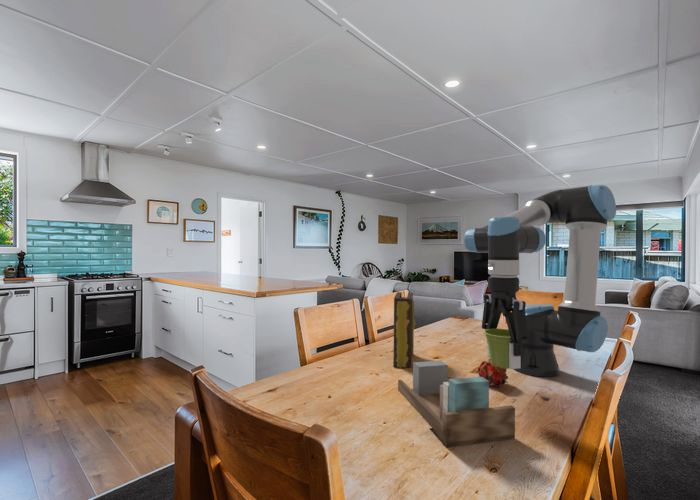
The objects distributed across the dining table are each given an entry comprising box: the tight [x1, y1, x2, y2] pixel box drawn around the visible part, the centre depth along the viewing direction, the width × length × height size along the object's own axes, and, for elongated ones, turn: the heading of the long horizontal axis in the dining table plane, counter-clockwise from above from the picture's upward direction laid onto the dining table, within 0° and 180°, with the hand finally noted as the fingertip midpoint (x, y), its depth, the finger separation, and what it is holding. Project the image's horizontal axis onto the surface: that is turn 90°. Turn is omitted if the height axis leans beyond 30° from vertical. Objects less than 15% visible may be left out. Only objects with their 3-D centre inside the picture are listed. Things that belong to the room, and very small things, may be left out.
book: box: [392, 291, 416, 369], centre depth 136 cm, size 22×8×25 cm, turn 168°
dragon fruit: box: [477, 358, 509, 388], centre depth 111 cm, size 8×8×12 cm
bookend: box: [412, 360, 449, 395], centre depth 103 cm, size 9×4×8 cm, turn 103°
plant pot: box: [483, 328, 511, 370], centre depth 92 cm, size 9×9×9 cm
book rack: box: [397, 376, 516, 448], centre depth 91 cm, size 17×29×13 cm, turn 13°
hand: (503, 362), depth 92 cm, fingers closed on plant pot, 8 cm apart
